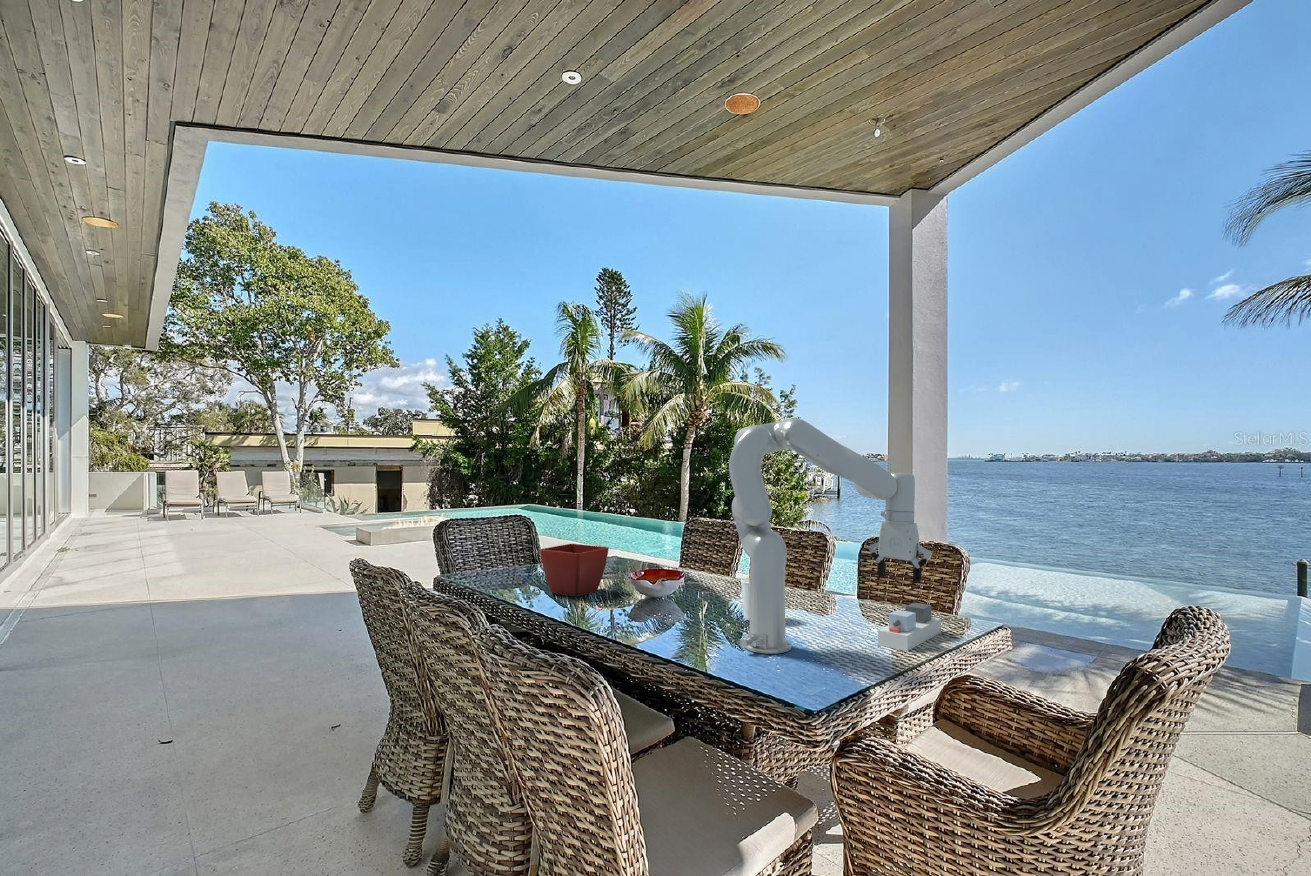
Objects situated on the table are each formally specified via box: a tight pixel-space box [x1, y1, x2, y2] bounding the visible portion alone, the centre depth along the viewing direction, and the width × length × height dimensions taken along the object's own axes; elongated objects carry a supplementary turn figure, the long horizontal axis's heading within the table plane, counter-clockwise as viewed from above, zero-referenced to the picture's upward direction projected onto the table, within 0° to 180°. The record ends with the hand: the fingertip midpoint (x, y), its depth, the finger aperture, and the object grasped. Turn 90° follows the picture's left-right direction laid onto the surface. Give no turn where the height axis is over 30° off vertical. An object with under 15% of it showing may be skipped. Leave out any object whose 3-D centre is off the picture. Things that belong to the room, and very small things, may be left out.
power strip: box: [877, 616, 942, 652], centre depth 184 cm, size 24×8×5 cm, turn 137°
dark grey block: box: [905, 602, 933, 623], centre depth 189 cm, size 8×5×8 cm, turn 137°
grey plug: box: [888, 609, 916, 632], centre depth 179 cm, size 8×5×8 cm, turn 137°
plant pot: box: [539, 543, 609, 598], centre depth 248 cm, size 19×19×17 cm
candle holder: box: [740, 577, 750, 622], centre depth 208 cm, size 10×10×12 cm
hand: (898, 579), depth 180 cm, fingers open, 9 cm apart
